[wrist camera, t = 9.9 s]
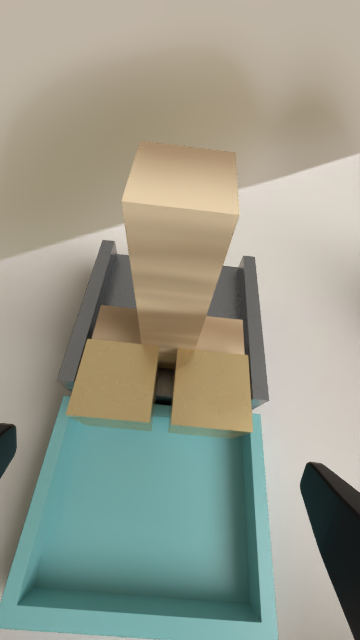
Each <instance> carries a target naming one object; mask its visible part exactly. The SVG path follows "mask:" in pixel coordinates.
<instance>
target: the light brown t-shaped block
mask: <svg viewBox="0 0 360 640" xmlns="http://www.w3.org/2000/svg"><path fill="white" fill-rule="evenodd" d="M122 208H123V215H124V222H125V229H126V236H127V244H128V251H129V258H130V265H131V272H132V279H133V286H134V293H135V300H136V307H137V309H133V308H124V307H114V306H105V305H101V307H100V311H99V314H98V318H97V321H96V325H95V328H94V332H93V336H92V339H94V340H104V341H114V342H124V343H134V344H143V345H153V346H159V368H167V369H174V366H175V360H176V355H177V349H178V348H183V349H193V350H203V351H213V352H223V353H233V354H243V355H245V353H244V335H243V320H239V319H229V318H219V317H210V316H206V315H207V312H208V309H209V306H210V303H211V300H212V297H213V294H214V291H215V288H216V285H217V282H218V279H219V276H220V273H221V270H222V267H223V263H224V260H225V257H226V254H227V251H228V248H229V245H230V242H231V239H232V236H233V233H234V230H235V227H236V224H237V221H238V218H239V200H238V186H237V170H236V154H235V152H227V151H218V150H211V149H202V148H194V147H185V146H178V145H170V144H162V143H154V142H146V141H140V143H139V146H138V149H137V153H136V156H135V159H134V162H133V165H132V169H131V172H130V176H129V178H128V182H127V185H126V188H125V191H124V195H123V198H122Z"/></svg>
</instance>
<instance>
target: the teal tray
mask: <svg viewBox="0 0 360 640" xmlns="http://www.w3.org/2000/svg"><path fill="white" fill-rule="evenodd" d="M70 397H71V396H63V399H62V402H61V405H60V409H59V412H58V415H57V419H56V422H55V425H54V428H53V432H52V435H51V438H50V442H49V445H48V448H47V451H46V455H45V458H44V461H43V465H42V468H41V471H40V474H39V478H38V481H37V484H36V488H35V491H34V494H33V497H32V501H31V504H30V507H29V511H28V514H27V517H26V520H25V524H24V527H23V530H22V534H21V537H20V540H19V543H18V547H17V550H16V553H15V557H14V560H13V563H12V566H11V570H10V573H9V576H8V579H7V583H6V586H5V589H4V593H3V596H2V599H1V602H0V629H14V630H28V631H43V632H58V633H72V634H87V635H102V636H116V637H131V638H146V639H160V640H278V628H277V616H276V604H275V591H274V579H273V566H272V554H271V541H270V529H269V516H268V504H267V492H266V479H265V467H264V454H263V442H262V429H261V417H260V414H252V423H253V432H252V433H249V434H246V435H243V436H239V437H236V438H233V439H229V438H218V437H207V436H196V435H185V434H174V433H168V428H169V417H170V406H167V405H156V404H155V407H154V416H153V424H152V431H141V430H130V429H119V428H108V427H97V426H86V425H84V424H83V423H81V422H79V421H77V420H75V419H73V418H71V417H69V416H67V415H66V411H67V408H68V404H69V401H70Z"/></svg>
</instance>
